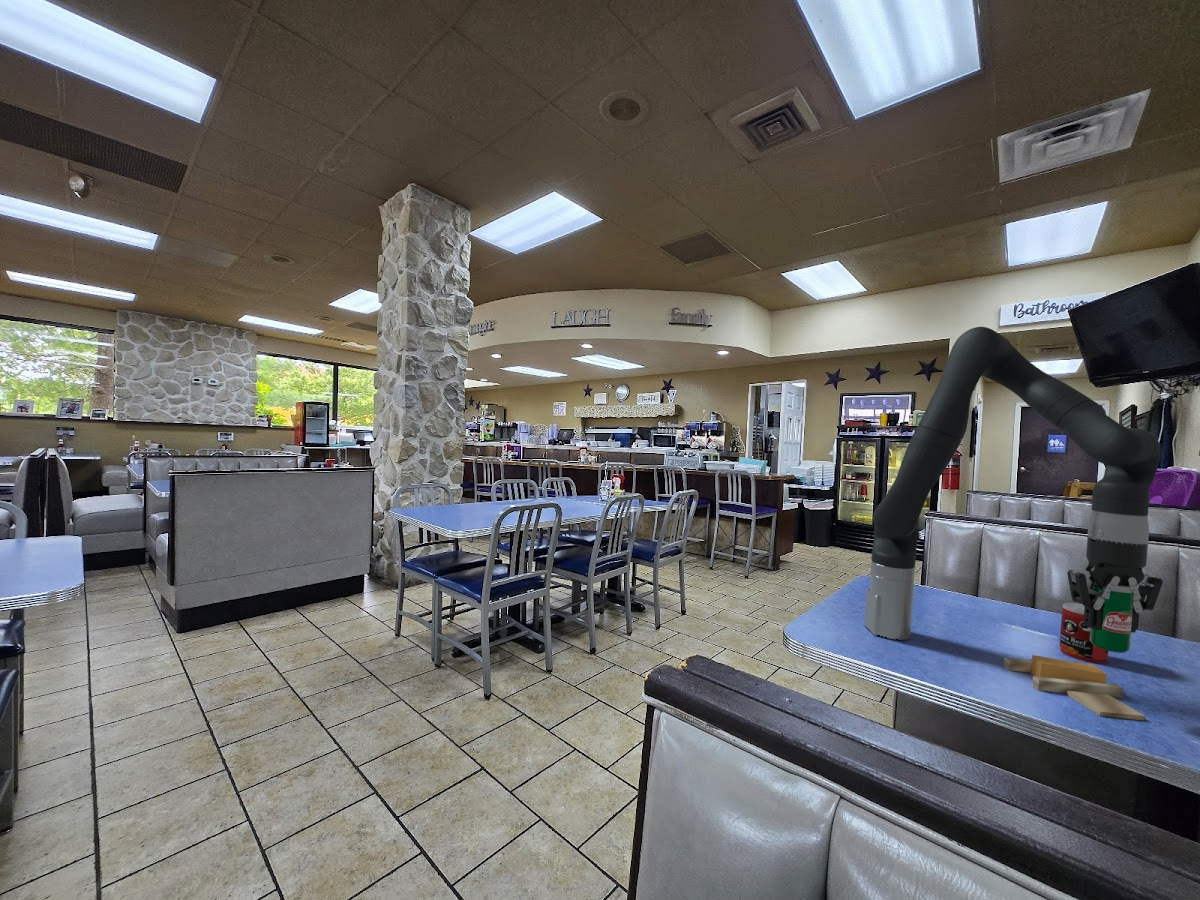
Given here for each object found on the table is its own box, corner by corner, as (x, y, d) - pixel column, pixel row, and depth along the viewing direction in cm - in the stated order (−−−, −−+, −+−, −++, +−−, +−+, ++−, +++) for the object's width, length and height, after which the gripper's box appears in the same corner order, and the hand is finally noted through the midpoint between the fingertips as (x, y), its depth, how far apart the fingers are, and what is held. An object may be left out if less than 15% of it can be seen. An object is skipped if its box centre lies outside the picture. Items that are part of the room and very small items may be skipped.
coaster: (1099, 715, 86) (1100, 711, 86) (1067, 694, 93) (1067, 690, 93) (1144, 720, 85) (1144, 715, 85) (1108, 698, 92) (1108, 694, 92)
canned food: (1049, 648, 114) (1053, 602, 114) (1080, 648, 115) (1084, 602, 114) (1085, 663, 107) (1088, 614, 106) (1117, 663, 107) (1121, 614, 107)
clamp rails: (1038, 690, 94) (1038, 680, 94) (1003, 666, 104) (1004, 657, 103) (1122, 698, 92) (1122, 688, 92) (1079, 673, 102) (1080, 664, 102)
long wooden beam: (1039, 682, 98) (1041, 663, 98) (1030, 673, 102) (1032, 654, 101) (1104, 694, 94) (1106, 674, 94) (1093, 684, 98) (1094, 665, 98)
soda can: (1104, 652, 87) (1109, 586, 86) (1081, 640, 92) (1086, 577, 91) (1137, 655, 86) (1143, 588, 85) (1113, 643, 91) (1118, 580, 90)
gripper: (1141, 535, 91) (1134, 624, 91) (1056, 531, 92) (1050, 618, 93) (1184, 544, 83) (1176, 641, 84) (1091, 539, 85) (1084, 634, 86)
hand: (1110, 629), depth 88 cm, fingers closed on soda can, 5 cm apart
